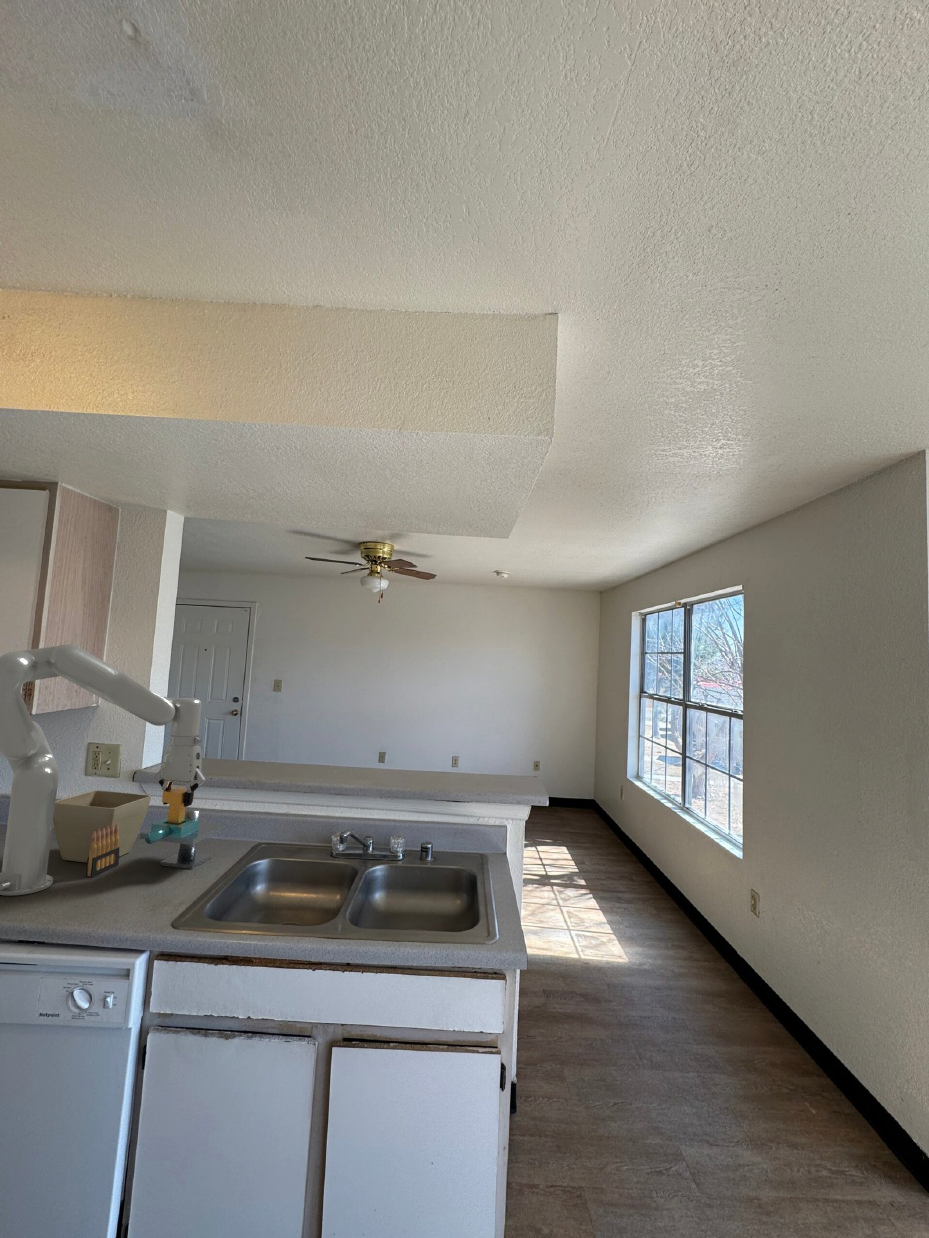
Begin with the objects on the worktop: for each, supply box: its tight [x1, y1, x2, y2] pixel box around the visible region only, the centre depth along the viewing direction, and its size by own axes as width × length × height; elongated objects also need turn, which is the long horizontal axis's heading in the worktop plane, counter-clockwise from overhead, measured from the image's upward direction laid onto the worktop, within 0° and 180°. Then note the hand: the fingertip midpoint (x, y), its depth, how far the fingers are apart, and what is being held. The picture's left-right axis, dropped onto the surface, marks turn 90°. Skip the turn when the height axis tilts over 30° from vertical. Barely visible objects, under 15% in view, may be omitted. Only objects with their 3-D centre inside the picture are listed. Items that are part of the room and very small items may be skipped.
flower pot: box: [53, 789, 152, 863], centre depth 180 cm, size 19×19×17 cm
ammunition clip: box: [84, 823, 120, 878], centre depth 169 cm, size 11×2×12 cm, turn 173°
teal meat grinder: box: [139, 807, 226, 870], centre depth 175 cm, size 25×16×15 cm, turn 173°
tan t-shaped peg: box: [161, 786, 195, 824], centre depth 174 cm, size 6×6×9 cm
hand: (177, 804), depth 174 cm, fingers closed on tan t-shaped peg, 5 cm apart
